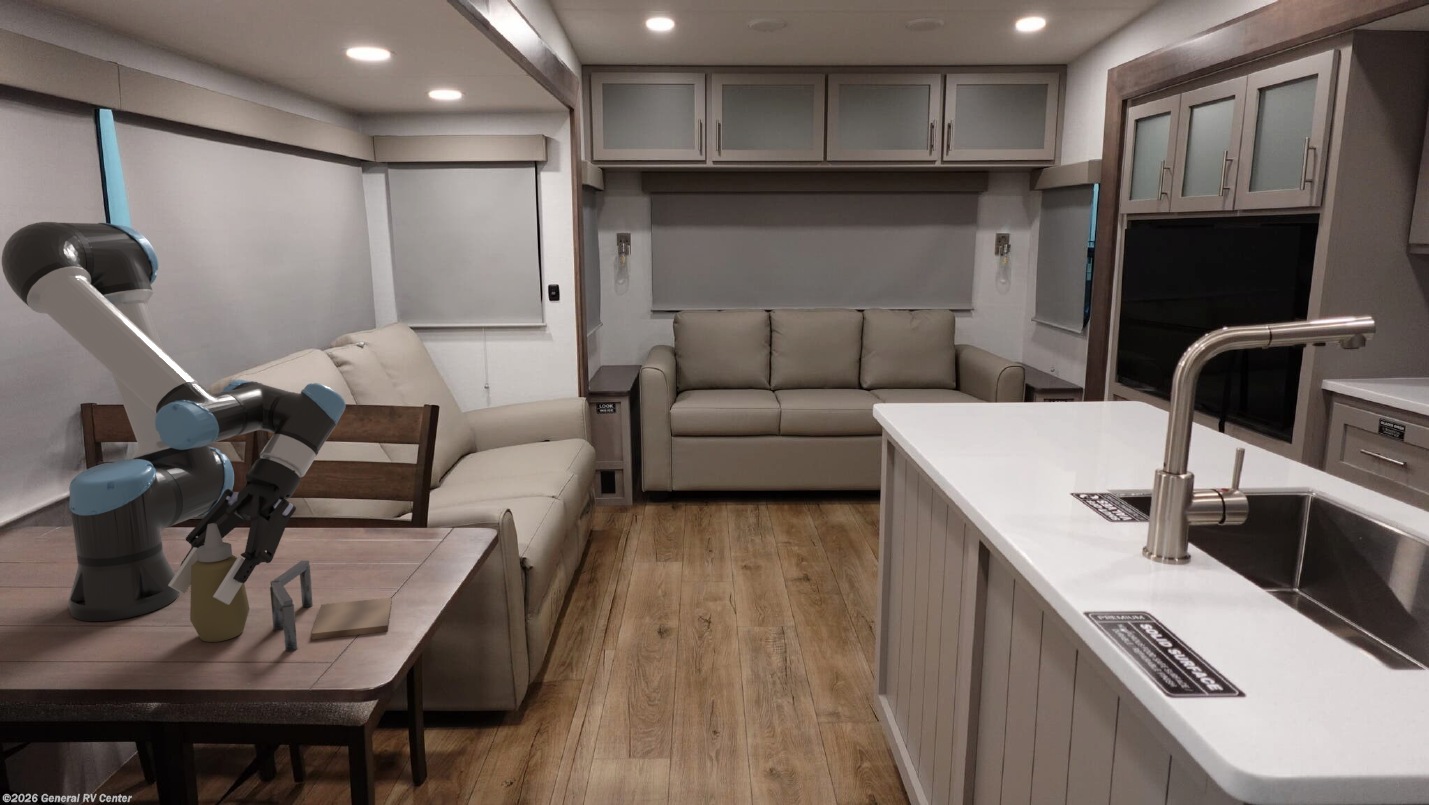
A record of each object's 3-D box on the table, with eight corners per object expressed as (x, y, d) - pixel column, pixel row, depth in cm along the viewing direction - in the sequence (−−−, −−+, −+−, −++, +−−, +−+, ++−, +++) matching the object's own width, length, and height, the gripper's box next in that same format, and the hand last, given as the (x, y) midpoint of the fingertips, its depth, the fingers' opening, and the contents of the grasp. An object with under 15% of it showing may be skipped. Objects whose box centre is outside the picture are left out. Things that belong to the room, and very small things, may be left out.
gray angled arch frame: (262, 654, 125) (258, 605, 123) (283, 606, 141) (279, 561, 140) (296, 650, 126) (292, 601, 125) (313, 603, 142) (310, 559, 141)
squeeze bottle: (263, 629, 133) (254, 521, 129) (214, 651, 125) (203, 536, 122) (229, 619, 136) (219, 513, 133) (179, 639, 129) (168, 528, 125)
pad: (311, 639, 130) (311, 633, 129) (321, 610, 140) (321, 604, 140) (387, 631, 133) (387, 625, 133) (391, 603, 143) (391, 597, 143)
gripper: (344, 488, 137) (267, 617, 125) (248, 472, 145) (168, 592, 133) (315, 464, 131) (232, 598, 119) (217, 448, 139) (130, 572, 127)
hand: (198, 595), depth 126 cm, fingers open, 9 cm apart
